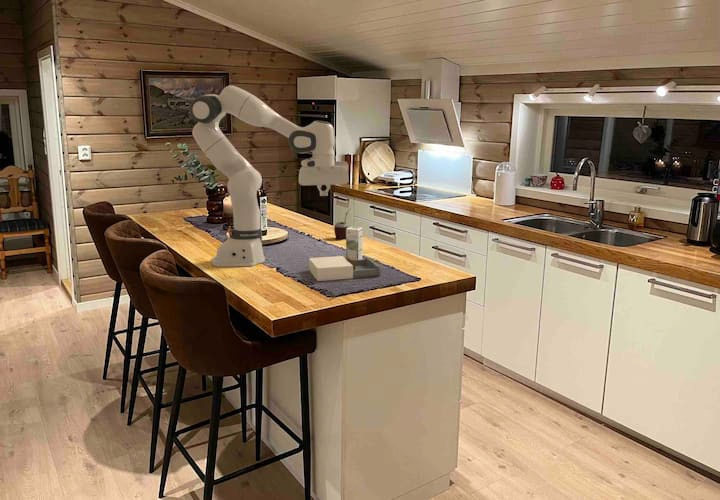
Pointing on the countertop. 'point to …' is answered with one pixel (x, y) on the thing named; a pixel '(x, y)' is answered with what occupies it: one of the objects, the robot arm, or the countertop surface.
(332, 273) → the cream square block
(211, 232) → the countertop surface
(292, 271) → the countertop surface
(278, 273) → the countertop surface
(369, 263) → the charcoal box
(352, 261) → the walnut tile
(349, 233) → the syrup box
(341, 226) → the mate gourd
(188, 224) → the countertop surface
